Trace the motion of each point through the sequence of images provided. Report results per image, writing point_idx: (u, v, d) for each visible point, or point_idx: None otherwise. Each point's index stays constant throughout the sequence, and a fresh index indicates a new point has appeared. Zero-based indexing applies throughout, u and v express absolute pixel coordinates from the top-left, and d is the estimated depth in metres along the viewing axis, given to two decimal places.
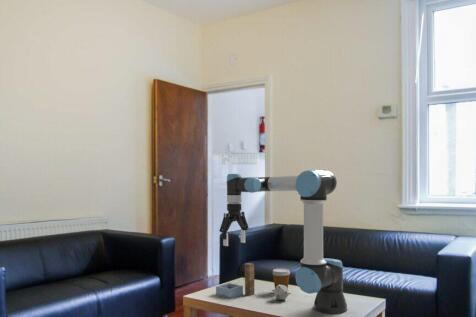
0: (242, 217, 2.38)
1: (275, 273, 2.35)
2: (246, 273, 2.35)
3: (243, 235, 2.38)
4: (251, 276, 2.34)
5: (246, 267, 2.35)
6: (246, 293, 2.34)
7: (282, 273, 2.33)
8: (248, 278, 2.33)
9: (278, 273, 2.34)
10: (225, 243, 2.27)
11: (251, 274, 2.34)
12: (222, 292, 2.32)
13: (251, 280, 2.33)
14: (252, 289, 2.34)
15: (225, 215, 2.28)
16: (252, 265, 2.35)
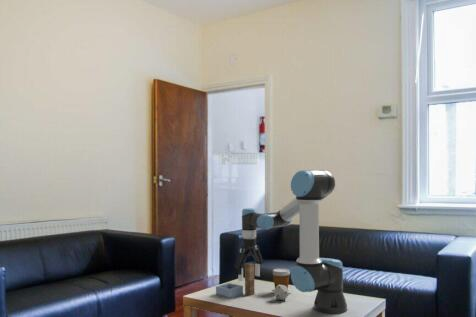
0: (257, 251, 2.40)
1: (275, 273, 2.35)
2: (246, 273, 2.35)
3: (257, 269, 2.40)
4: (251, 276, 2.34)
5: (246, 267, 2.35)
6: (246, 293, 2.34)
7: (282, 273, 2.33)
8: (248, 278, 2.33)
9: (278, 273, 2.34)
10: (240, 278, 2.30)
11: (251, 274, 2.34)
12: (222, 292, 2.32)
13: (251, 280, 2.33)
14: (252, 289, 2.34)
15: (240, 250, 2.31)
16: (252, 265, 2.35)
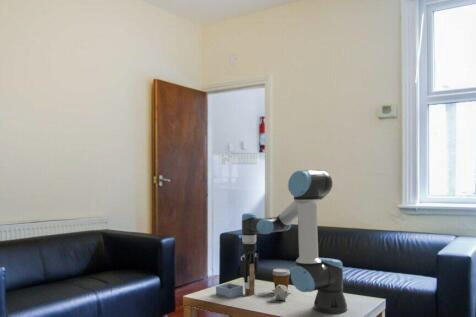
0: (255, 259, 2.39)
1: (275, 273, 2.35)
2: None
3: None
4: (251, 276, 2.34)
5: None
6: (246, 293, 2.34)
7: (282, 273, 2.33)
8: None
9: (278, 273, 2.34)
10: (246, 286, 2.33)
11: (251, 274, 2.34)
12: (222, 292, 2.32)
13: (251, 280, 2.33)
14: (252, 289, 2.34)
15: (241, 259, 2.31)
16: (252, 265, 2.35)
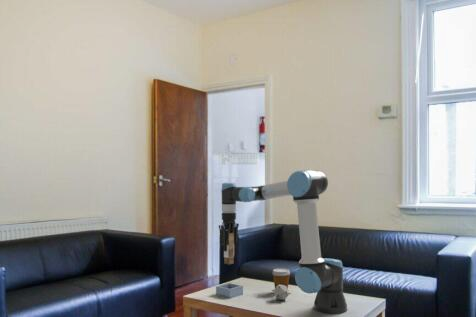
0: (235, 228, 2.40)
1: (275, 273, 2.35)
2: None
3: None
4: (230, 245, 2.35)
5: None
6: (225, 262, 2.35)
7: (282, 273, 2.33)
8: None
9: (278, 273, 2.34)
10: (226, 255, 2.34)
11: (230, 243, 2.35)
12: (222, 292, 2.32)
13: (230, 249, 2.34)
14: (231, 258, 2.35)
15: (220, 228, 2.32)
16: (231, 234, 2.36)
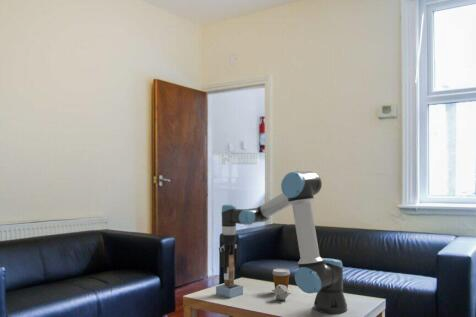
0: (235, 250, 2.39)
1: (275, 273, 2.35)
2: (225, 264, 2.35)
3: None
4: (230, 267, 2.34)
5: None
6: (225, 284, 2.35)
7: (282, 273, 2.33)
8: None
9: (278, 273, 2.34)
10: (226, 277, 2.34)
11: (230, 265, 2.34)
12: (222, 292, 2.32)
13: (230, 271, 2.34)
14: (231, 280, 2.35)
15: (220, 250, 2.31)
16: (231, 256, 2.35)
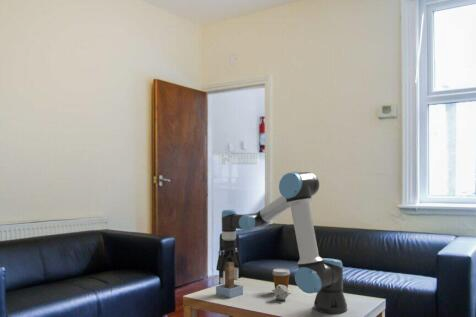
0: (236, 253, 2.40)
1: (275, 273, 2.35)
2: (226, 272, 2.35)
3: (236, 273, 2.39)
4: (231, 275, 2.34)
5: (226, 266, 2.35)
6: None
7: (282, 273, 2.33)
8: (228, 277, 2.34)
9: (278, 273, 2.34)
10: (222, 281, 2.31)
11: (231, 273, 2.34)
12: (222, 292, 2.32)
13: (230, 279, 2.34)
14: None
15: (220, 253, 2.31)
16: (232, 264, 2.35)
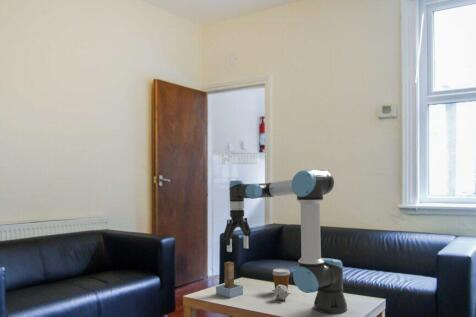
0: (245, 223, 2.41)
1: (275, 273, 2.35)
2: (226, 272, 2.35)
3: (246, 241, 2.41)
4: (231, 275, 2.34)
5: (226, 266, 2.35)
6: None
7: (282, 273, 2.33)
8: (228, 277, 2.34)
9: (278, 273, 2.34)
10: (229, 249, 2.31)
11: (231, 273, 2.34)
12: (222, 292, 2.32)
13: (230, 279, 2.34)
14: None
15: (228, 221, 2.32)
16: (232, 264, 2.35)
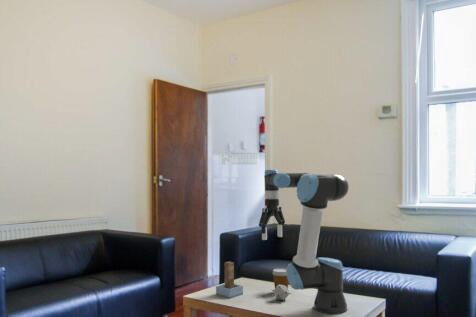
0: (279, 212, 2.44)
1: (275, 273, 2.35)
2: (226, 272, 2.35)
3: (280, 229, 2.44)
4: (231, 275, 2.34)
5: (226, 266, 2.35)
6: None
7: (282, 273, 2.33)
8: (228, 277, 2.34)
9: (278, 273, 2.34)
10: (264, 237, 2.34)
11: (231, 273, 2.34)
12: (222, 292, 2.32)
13: (230, 279, 2.34)
14: None
15: (264, 210, 2.35)
16: (232, 264, 2.35)
